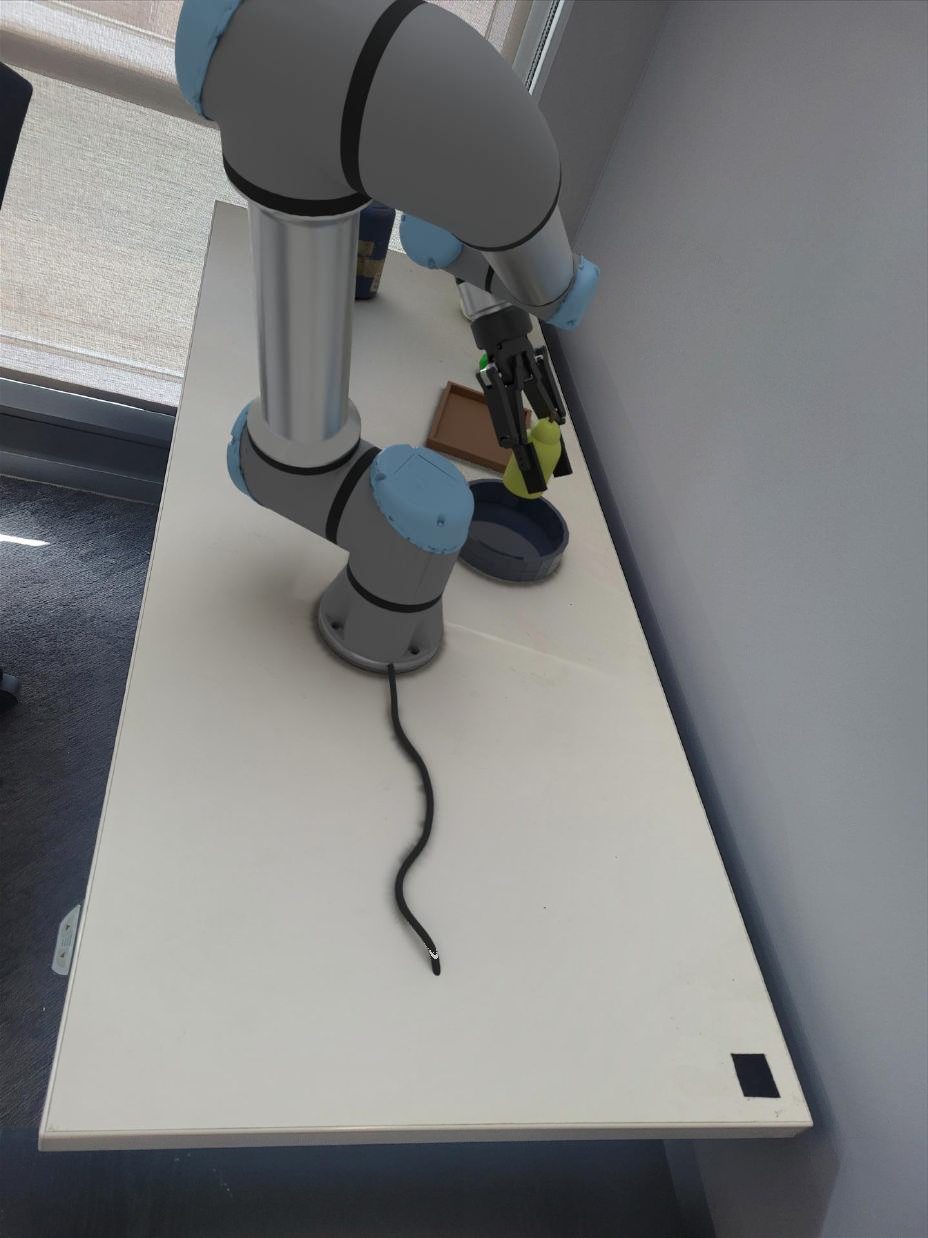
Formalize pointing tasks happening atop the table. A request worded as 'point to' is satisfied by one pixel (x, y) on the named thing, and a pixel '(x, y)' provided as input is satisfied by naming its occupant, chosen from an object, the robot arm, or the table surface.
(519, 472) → the pear
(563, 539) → the bowl
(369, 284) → the canister
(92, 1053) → the table surface
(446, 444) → the tray
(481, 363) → the polyhedron
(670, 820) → the table surface
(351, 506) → the robot arm
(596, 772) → the table surface
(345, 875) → the table surface
